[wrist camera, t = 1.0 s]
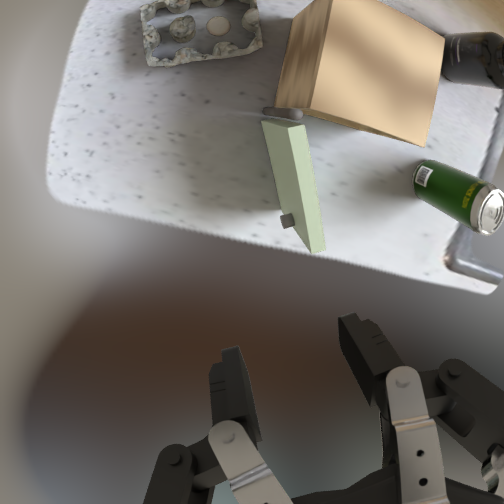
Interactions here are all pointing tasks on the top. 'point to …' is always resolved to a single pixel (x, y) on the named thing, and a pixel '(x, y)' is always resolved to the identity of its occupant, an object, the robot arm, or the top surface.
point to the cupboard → (361, 69)
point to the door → (295, 180)
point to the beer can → (460, 196)
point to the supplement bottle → (474, 59)
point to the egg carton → (185, 31)
